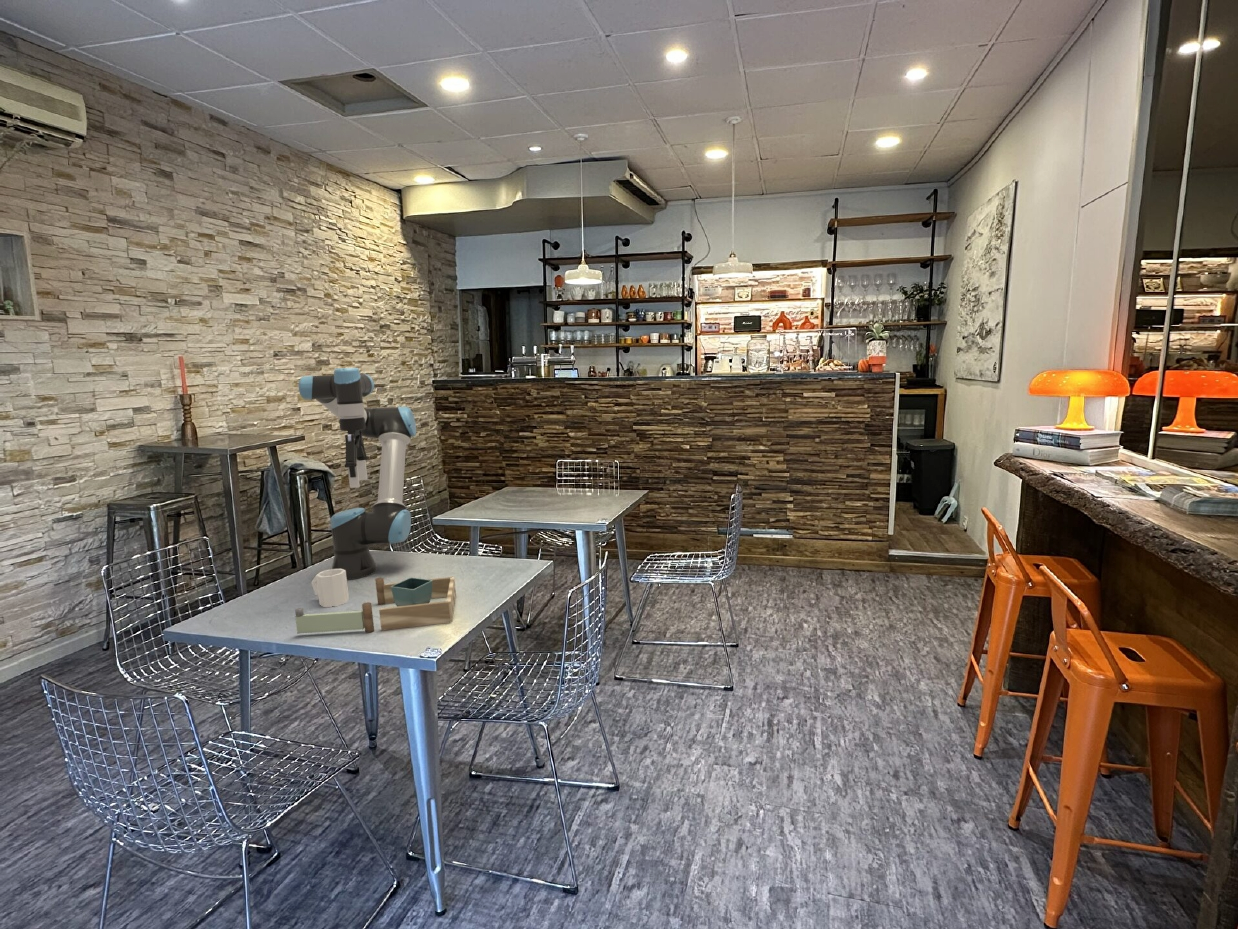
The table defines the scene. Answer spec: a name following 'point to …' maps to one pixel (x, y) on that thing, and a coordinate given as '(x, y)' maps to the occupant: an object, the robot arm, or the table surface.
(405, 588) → the flower pot
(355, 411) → the robot arm
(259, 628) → the table surface
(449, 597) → the wooden u-shaped enclosure
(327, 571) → the mug
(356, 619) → the gate
